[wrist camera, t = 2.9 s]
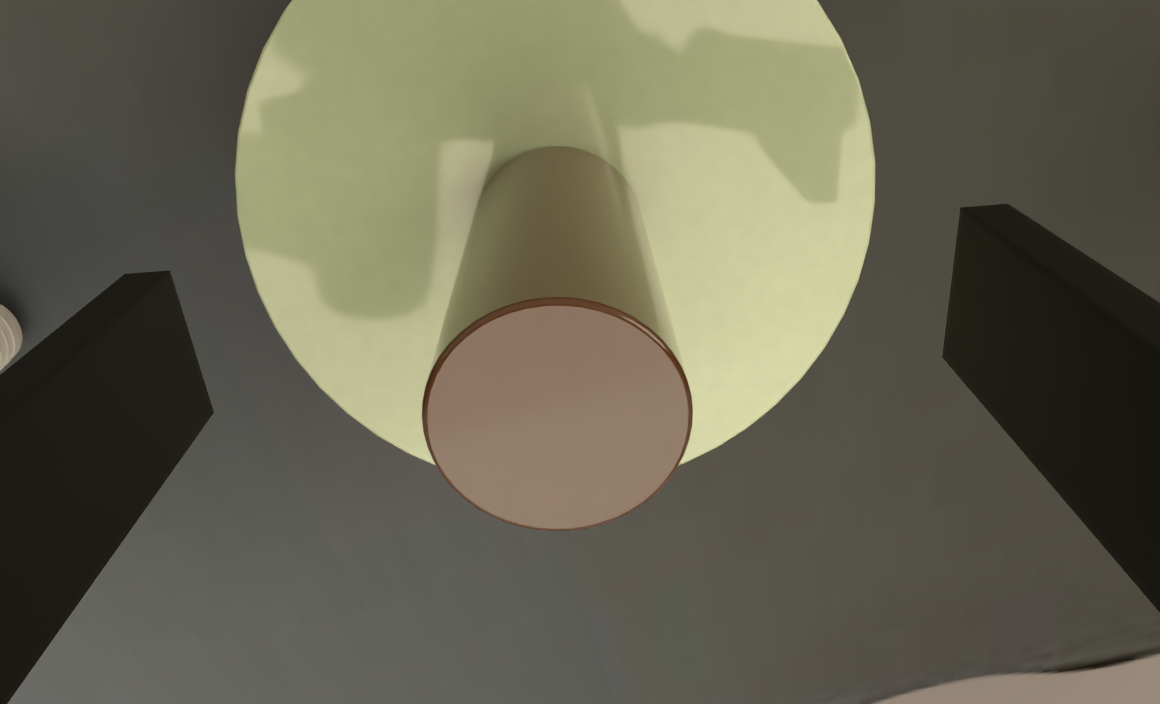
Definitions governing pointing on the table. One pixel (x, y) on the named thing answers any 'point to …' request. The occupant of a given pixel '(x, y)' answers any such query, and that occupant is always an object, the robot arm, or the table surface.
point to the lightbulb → (9, 336)
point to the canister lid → (555, 228)
